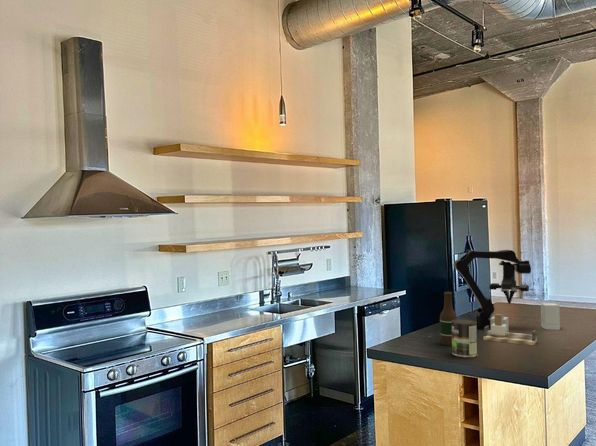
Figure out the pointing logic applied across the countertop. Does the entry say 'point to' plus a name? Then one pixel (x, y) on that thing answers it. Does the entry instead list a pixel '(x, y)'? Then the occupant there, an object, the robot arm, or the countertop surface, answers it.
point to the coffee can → (464, 338)
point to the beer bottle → (447, 320)
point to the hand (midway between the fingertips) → (509, 303)
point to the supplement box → (550, 316)
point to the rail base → (509, 340)
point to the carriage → (498, 325)
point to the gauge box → (505, 321)
